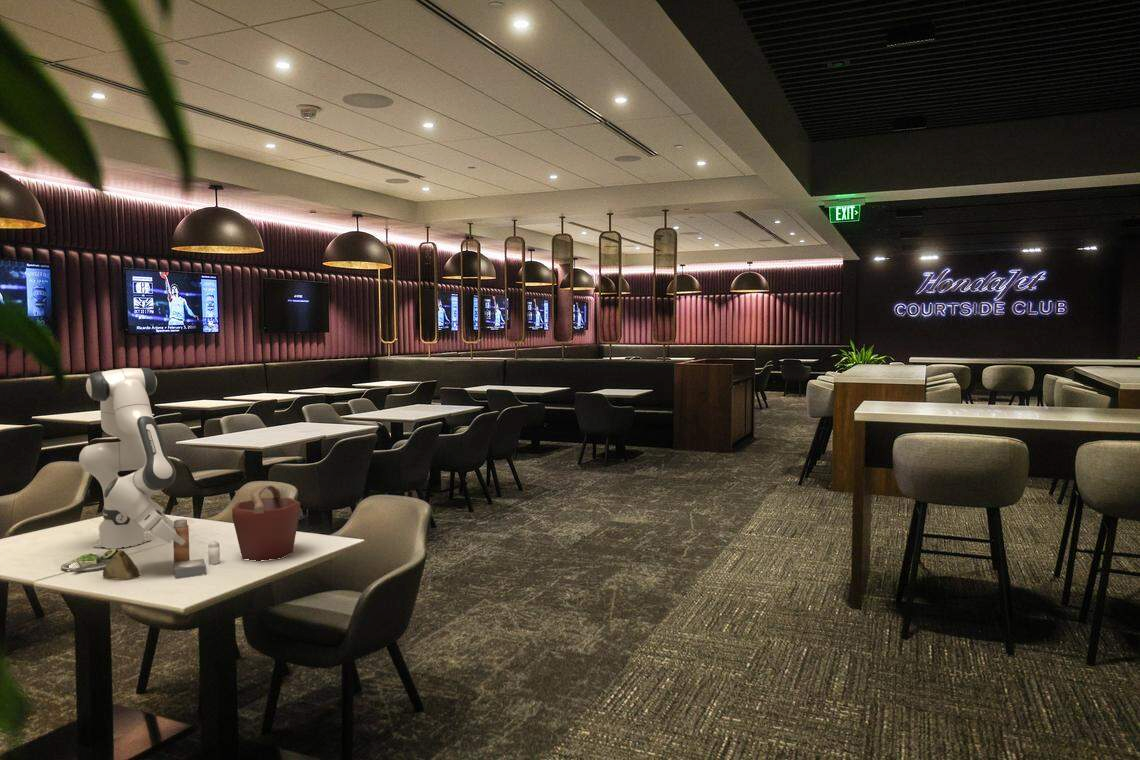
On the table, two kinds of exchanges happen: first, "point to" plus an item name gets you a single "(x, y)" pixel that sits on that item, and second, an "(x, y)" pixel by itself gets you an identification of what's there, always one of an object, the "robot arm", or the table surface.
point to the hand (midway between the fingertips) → (183, 540)
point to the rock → (121, 567)
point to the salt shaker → (213, 552)
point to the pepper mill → (183, 531)
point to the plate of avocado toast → (91, 561)
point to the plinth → (189, 568)
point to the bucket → (266, 525)
